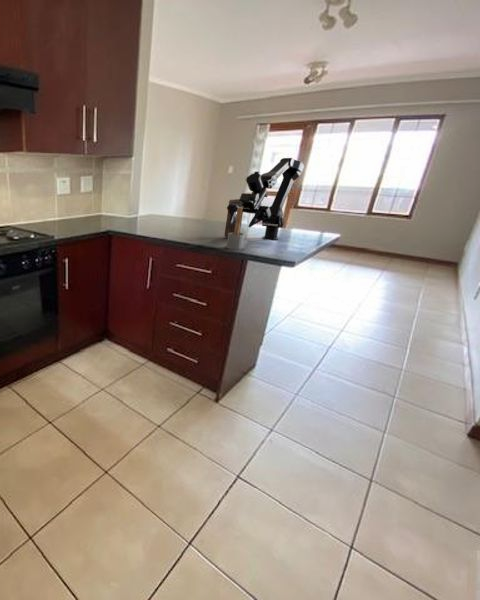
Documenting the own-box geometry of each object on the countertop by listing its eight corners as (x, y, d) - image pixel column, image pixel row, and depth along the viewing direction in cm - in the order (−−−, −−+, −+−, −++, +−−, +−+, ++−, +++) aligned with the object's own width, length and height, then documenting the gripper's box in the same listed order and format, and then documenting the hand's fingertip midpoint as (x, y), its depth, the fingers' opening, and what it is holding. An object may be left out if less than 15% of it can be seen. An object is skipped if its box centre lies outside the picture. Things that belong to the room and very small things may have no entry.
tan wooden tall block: (239, 240, 172) (245, 199, 164) (224, 239, 174) (229, 199, 166) (238, 237, 179) (243, 198, 171) (223, 236, 181) (228, 198, 173)
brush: (231, 246, 157) (236, 207, 150) (239, 247, 155) (244, 207, 149) (230, 248, 154) (235, 208, 148) (238, 248, 153) (243, 208, 146)
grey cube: (227, 246, 159) (229, 232, 157) (243, 247, 156) (245, 232, 154) (225, 249, 154) (227, 234, 151) (241, 251, 151) (243, 235, 148)
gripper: (231, 185, 156) (214, 212, 154) (272, 186, 141) (254, 216, 140) (238, 201, 163) (222, 227, 161) (278, 204, 148) (261, 232, 147)
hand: (239, 225), depth 152 cm, fingers open, 9 cm apart
